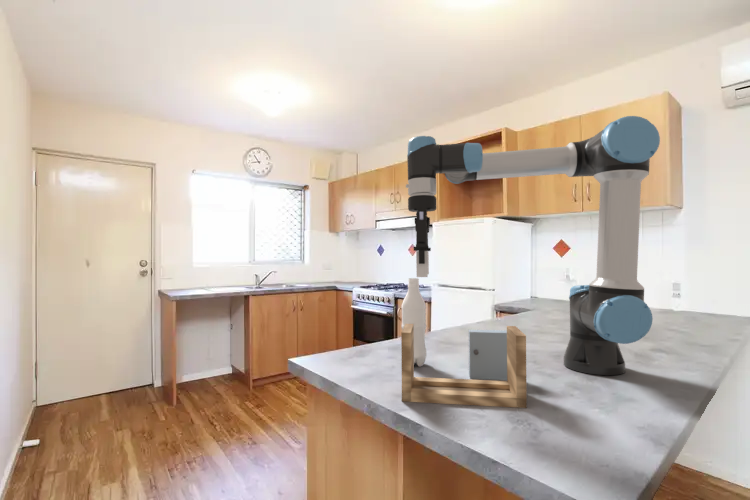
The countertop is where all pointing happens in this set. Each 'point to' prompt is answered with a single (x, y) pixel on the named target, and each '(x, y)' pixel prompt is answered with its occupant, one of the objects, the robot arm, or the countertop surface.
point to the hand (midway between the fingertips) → (423, 275)
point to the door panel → (488, 354)
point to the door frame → (467, 389)
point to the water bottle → (415, 319)
